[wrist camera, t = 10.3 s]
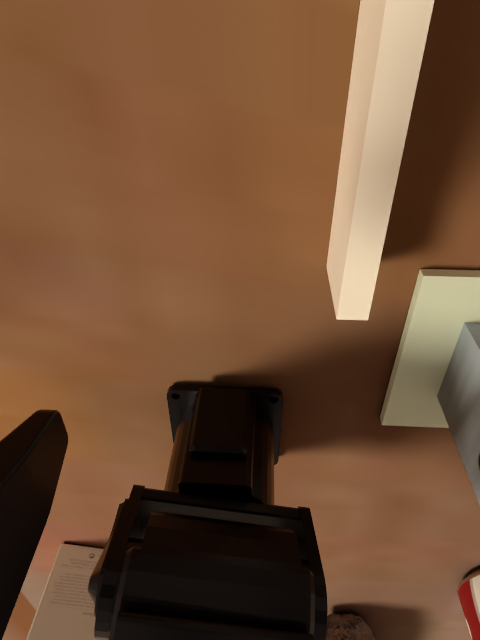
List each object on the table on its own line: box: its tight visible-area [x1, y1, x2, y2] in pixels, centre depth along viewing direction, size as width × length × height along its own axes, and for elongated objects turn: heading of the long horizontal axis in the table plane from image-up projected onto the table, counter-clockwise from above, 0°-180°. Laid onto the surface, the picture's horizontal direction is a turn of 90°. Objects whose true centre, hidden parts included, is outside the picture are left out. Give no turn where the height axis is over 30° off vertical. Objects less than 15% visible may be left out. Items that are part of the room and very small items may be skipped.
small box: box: [27, 544, 104, 640], centre depth 36 cm, size 8×6×10 cm
